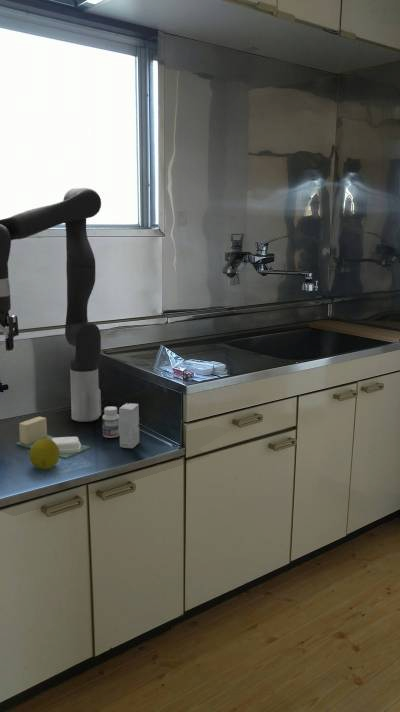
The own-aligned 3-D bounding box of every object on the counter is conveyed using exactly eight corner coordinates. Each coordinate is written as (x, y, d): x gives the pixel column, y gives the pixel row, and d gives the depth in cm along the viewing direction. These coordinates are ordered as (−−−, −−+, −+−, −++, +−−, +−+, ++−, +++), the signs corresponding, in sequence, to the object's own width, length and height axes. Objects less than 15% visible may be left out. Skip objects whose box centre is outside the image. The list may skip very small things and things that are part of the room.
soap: (80, 443, 179) (80, 434, 178) (81, 452, 172) (81, 442, 171) (49, 445, 177) (49, 436, 176) (49, 454, 170) (48, 444, 169)
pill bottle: (105, 431, 190) (105, 405, 188) (121, 432, 189) (121, 406, 187) (100, 437, 185) (99, 410, 183) (116, 438, 184) (116, 411, 182)
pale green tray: (41, 434, 186) (40, 415, 185) (89, 448, 176) (89, 427, 175) (16, 444, 178) (15, 424, 177) (65, 459, 168) (65, 437, 166)
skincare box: (133, 448, 176) (132, 409, 174) (118, 447, 177) (118, 408, 175) (140, 441, 182) (139, 403, 179) (126, 440, 183) (125, 402, 180)
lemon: (57, 475, 157) (56, 446, 155) (26, 476, 157) (25, 447, 155) (62, 459, 168) (61, 432, 166) (34, 459, 167) (33, 432, 165)
